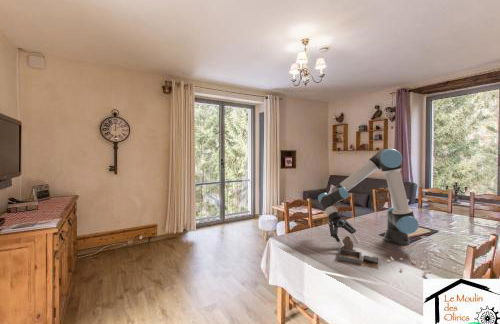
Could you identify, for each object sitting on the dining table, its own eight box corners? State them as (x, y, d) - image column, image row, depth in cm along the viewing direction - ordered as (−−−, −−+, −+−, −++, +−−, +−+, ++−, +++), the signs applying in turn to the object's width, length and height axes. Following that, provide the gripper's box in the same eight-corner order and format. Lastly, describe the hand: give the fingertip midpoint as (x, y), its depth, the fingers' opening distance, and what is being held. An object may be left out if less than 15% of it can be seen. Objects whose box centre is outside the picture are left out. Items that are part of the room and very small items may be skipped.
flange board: (377, 260, 136) (377, 258, 136) (378, 271, 124) (378, 269, 124) (339, 253, 145) (339, 252, 145) (337, 263, 132) (337, 261, 132)
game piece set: (440, 277, 119) (441, 269, 119) (402, 278, 117) (402, 270, 117) (411, 260, 138) (411, 253, 138) (378, 260, 137) (378, 254, 137)
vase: (339, 248, 153) (339, 235, 152) (349, 248, 153) (350, 234, 153) (344, 253, 146) (344, 238, 146) (355, 253, 146) (355, 238, 146)
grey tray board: (377, 259, 136) (377, 254, 135) (378, 268, 125) (378, 262, 125) (339, 252, 144) (339, 247, 144) (337, 260, 133) (337, 255, 133)
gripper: (343, 215, 168) (361, 244, 155) (315, 219, 158) (331, 250, 145) (349, 209, 163) (368, 239, 150) (321, 212, 153) (338, 244, 140)
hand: (350, 244), depth 147 cm, fingers open, 12 cm apart
